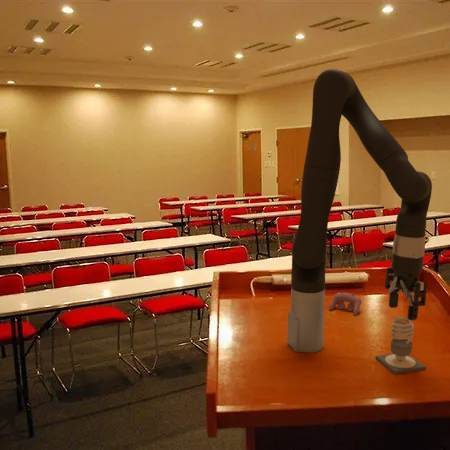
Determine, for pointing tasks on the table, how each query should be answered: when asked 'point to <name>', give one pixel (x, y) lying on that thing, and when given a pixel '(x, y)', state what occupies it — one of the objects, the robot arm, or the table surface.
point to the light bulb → (401, 344)
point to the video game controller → (346, 297)
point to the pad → (400, 363)
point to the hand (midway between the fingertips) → (402, 313)
